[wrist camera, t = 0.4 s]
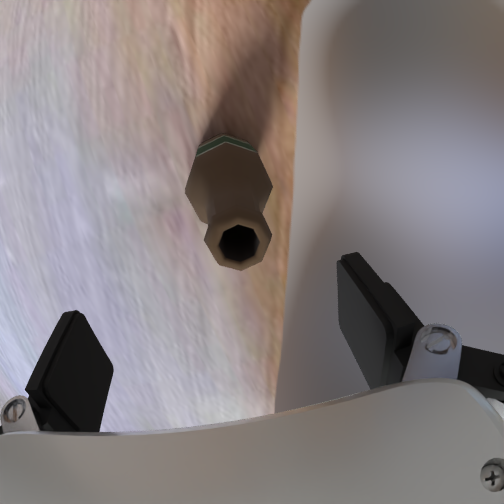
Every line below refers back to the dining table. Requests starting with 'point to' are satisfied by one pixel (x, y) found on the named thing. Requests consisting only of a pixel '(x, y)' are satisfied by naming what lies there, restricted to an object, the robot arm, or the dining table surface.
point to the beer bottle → (231, 200)
